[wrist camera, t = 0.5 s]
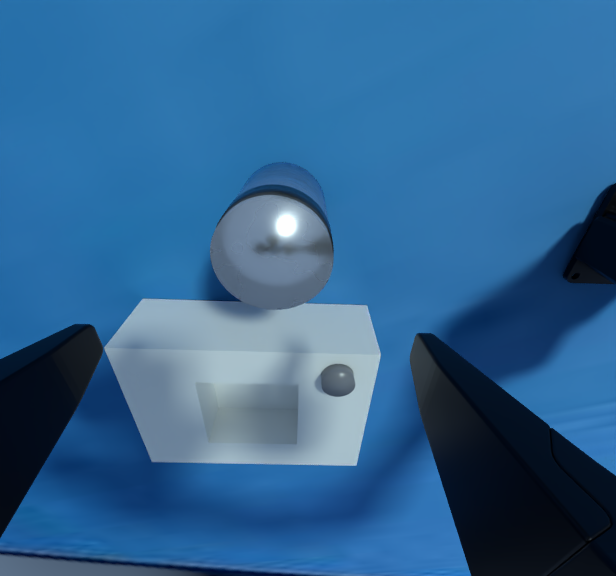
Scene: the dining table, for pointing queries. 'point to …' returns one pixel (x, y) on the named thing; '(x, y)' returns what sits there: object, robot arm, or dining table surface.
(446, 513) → the dining table surface
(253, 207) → the steel lens
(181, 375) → the camera body
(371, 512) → the dining table surface
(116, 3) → the dining table surface
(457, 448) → the robot arm
